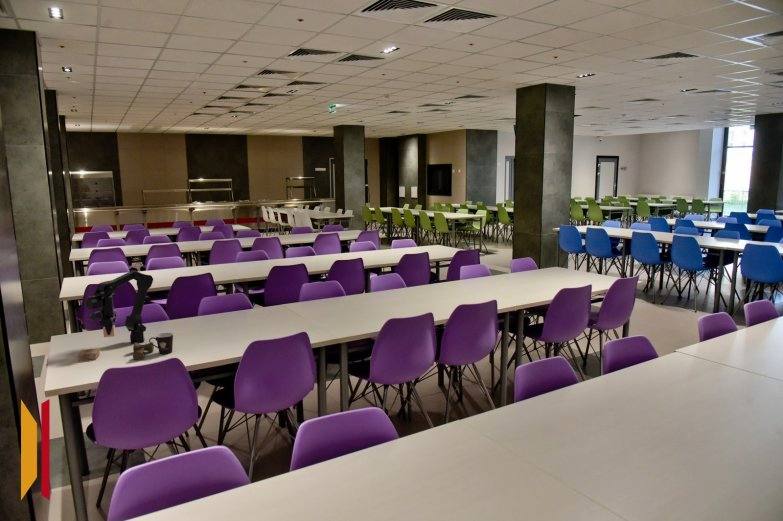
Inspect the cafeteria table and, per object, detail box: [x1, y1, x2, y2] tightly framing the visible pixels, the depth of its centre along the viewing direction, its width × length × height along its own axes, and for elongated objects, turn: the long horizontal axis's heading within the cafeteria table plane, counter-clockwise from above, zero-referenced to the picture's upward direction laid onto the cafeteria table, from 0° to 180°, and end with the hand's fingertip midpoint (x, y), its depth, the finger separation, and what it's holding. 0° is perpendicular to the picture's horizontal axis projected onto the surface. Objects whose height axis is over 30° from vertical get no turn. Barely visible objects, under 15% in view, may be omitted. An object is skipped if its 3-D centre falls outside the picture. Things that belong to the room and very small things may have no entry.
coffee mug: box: [148, 332, 174, 356], centre depth 283 cm, size 12×9×10 cm
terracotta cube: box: [102, 324, 117, 338], centre depth 285 cm, size 5×5×5 cm
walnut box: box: [77, 348, 101, 362], centre depth 275 cm, size 8×8×4 cm
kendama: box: [132, 341, 155, 361], centre depth 280 cm, size 6×10×20 cm
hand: (109, 333), depth 286 cm, fingers closed on terracotta cube, 5 cm apart
